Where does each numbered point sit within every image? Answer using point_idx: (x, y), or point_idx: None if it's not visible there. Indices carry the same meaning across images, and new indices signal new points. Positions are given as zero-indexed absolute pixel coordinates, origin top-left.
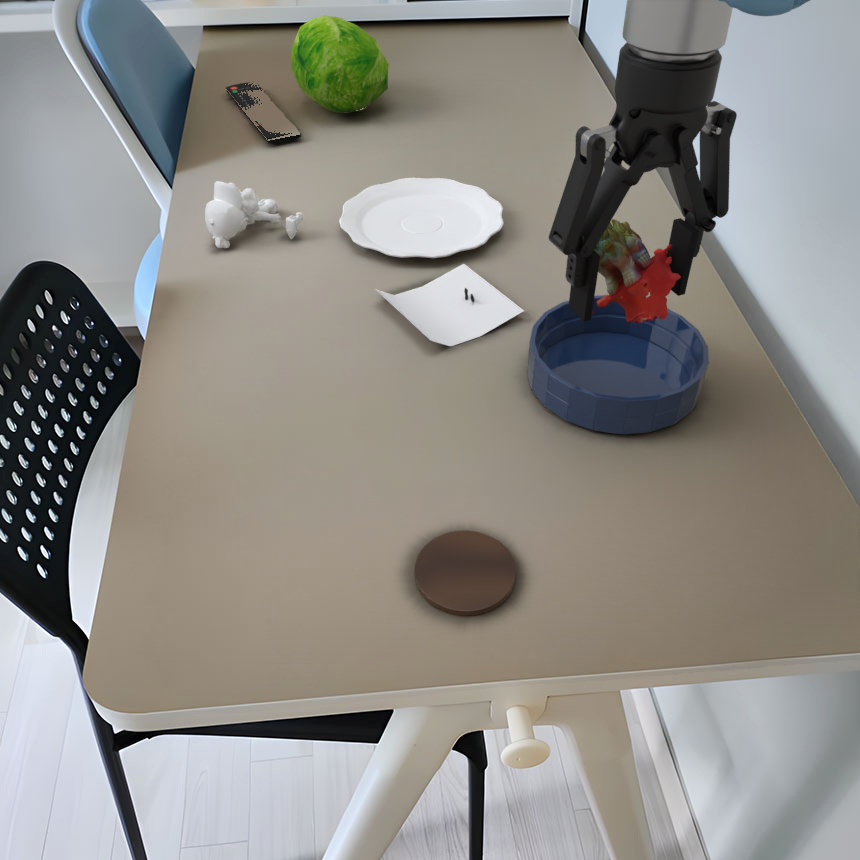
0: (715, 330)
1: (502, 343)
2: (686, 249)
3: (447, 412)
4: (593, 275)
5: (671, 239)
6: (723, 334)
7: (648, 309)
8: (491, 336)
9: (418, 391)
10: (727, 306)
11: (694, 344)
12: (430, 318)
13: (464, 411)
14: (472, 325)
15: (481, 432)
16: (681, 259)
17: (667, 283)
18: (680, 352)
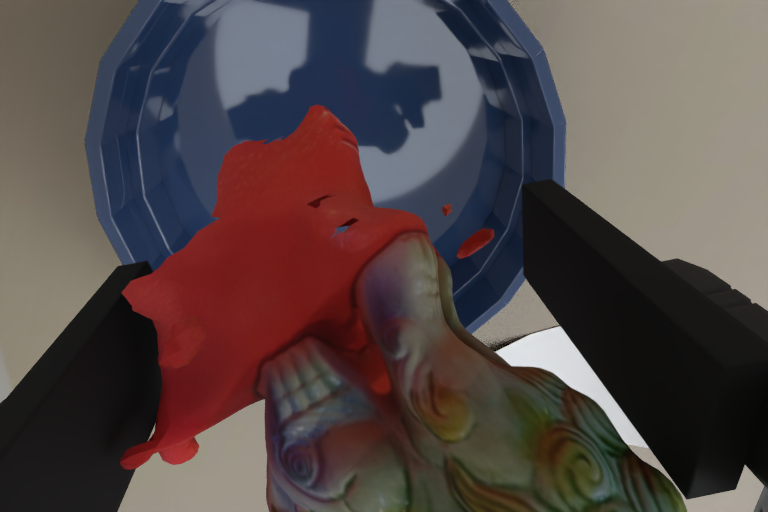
0: (50, 281)
1: (502, 311)
2: (44, 422)
3: (695, 143)
4: (659, 281)
5: (113, 498)
6: (33, 266)
7: (323, 152)
8: (511, 331)
9: (706, 213)
10: (5, 348)
11: (121, 186)
12: (584, 385)
13: (665, 138)
14: (530, 361)
15: (671, 64)
16: (92, 382)
17: (201, 262)
18: (160, 202)
